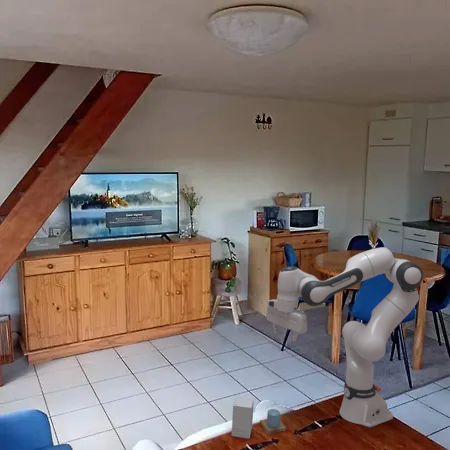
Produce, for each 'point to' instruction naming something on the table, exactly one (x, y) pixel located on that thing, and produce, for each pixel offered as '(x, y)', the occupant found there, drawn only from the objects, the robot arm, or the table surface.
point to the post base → (272, 430)
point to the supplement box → (242, 417)
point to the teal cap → (273, 418)
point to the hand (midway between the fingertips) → (285, 337)
